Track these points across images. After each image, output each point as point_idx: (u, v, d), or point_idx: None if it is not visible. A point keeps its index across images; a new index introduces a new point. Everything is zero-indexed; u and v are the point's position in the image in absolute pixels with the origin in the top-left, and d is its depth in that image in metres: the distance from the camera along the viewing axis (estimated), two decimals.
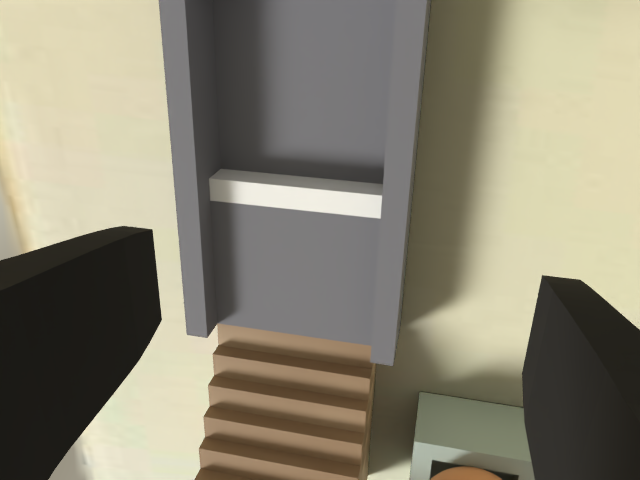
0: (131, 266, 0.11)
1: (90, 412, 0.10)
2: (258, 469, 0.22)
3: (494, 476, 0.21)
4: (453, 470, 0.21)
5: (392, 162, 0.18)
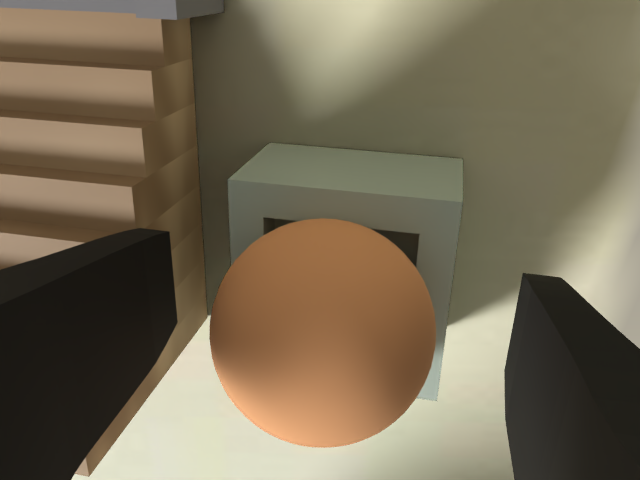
0: (149, 268, 0.11)
1: (109, 415, 0.10)
2: None
3: None
4: None
5: None
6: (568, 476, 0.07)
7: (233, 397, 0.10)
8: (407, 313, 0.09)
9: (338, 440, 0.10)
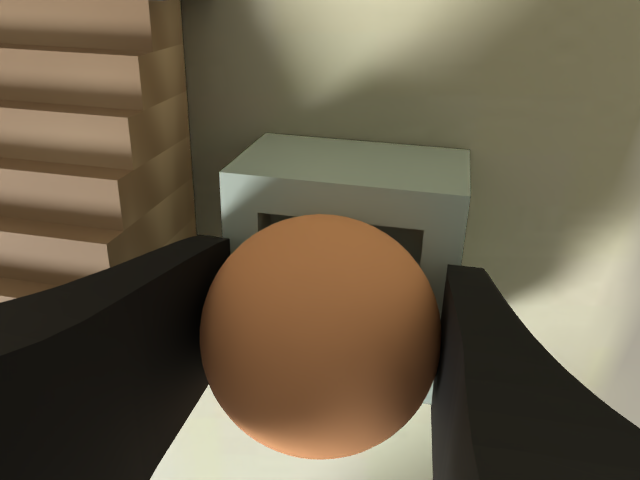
0: (212, 277, 0.10)
1: (175, 428, 0.10)
2: None
3: (370, 225, 0.10)
4: None
5: None
6: (452, 456, 0.07)
7: (224, 406, 0.09)
8: (410, 317, 0.09)
9: (336, 453, 0.09)
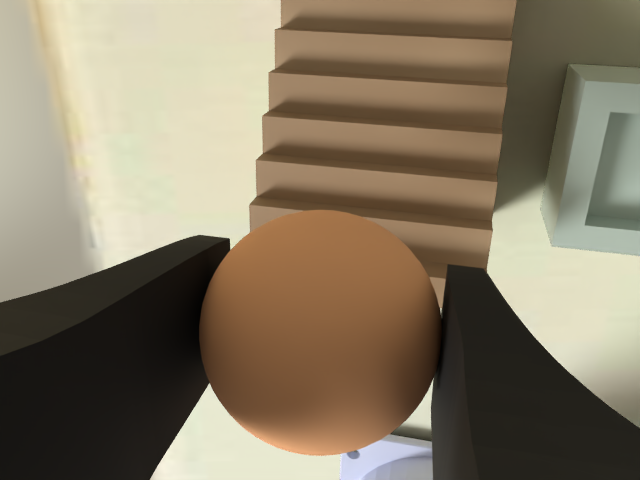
0: None
1: (175, 428, 0.10)
2: (349, 141, 0.15)
3: (370, 221, 0.10)
4: None
5: None
6: (452, 456, 0.07)
7: (224, 402, 0.09)
8: (411, 313, 0.09)
9: (336, 449, 0.09)
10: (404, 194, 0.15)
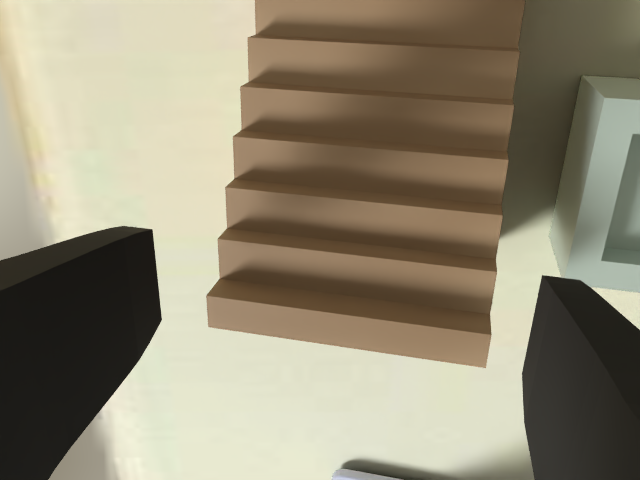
0: (131, 266, 0.11)
1: (90, 412, 0.10)
2: (332, 166, 0.13)
3: None
4: None
5: None
6: None
7: None
8: None
9: None
10: (395, 228, 0.13)
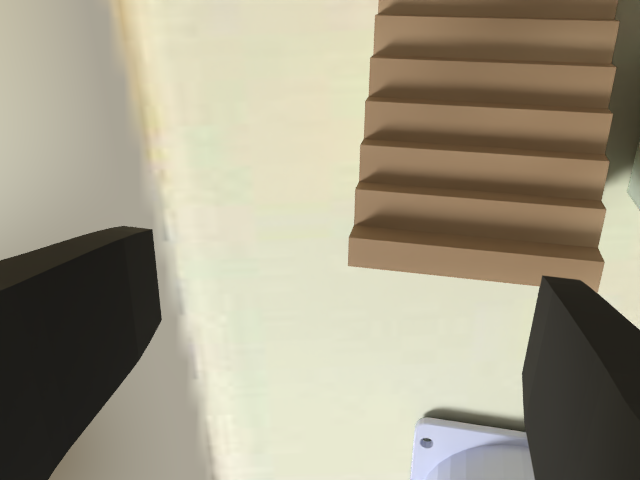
0: (131, 266, 0.11)
1: (90, 412, 0.10)
2: (454, 124, 0.15)
3: None
4: None
5: None
6: None
7: None
8: None
9: None
10: (512, 176, 0.15)
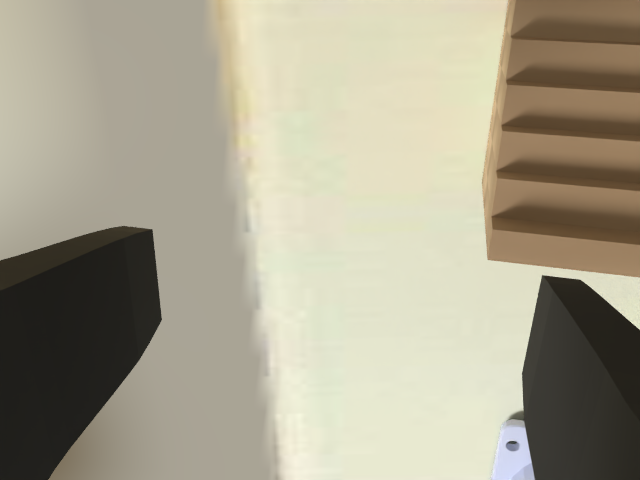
0: (131, 266, 0.11)
1: (90, 412, 0.10)
2: (603, 111, 0.14)
3: None
4: None
5: None
6: None
7: None
8: None
9: None
10: None
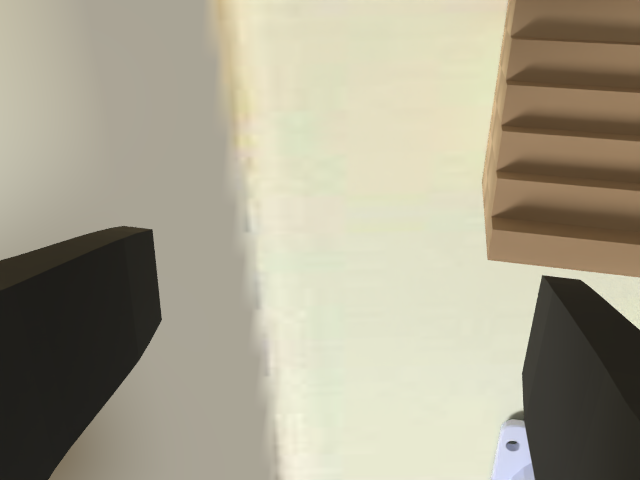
0: (131, 266, 0.11)
1: (90, 412, 0.10)
2: (603, 111, 0.14)
3: None
4: None
5: None
6: None
7: None
8: None
9: None
10: None
